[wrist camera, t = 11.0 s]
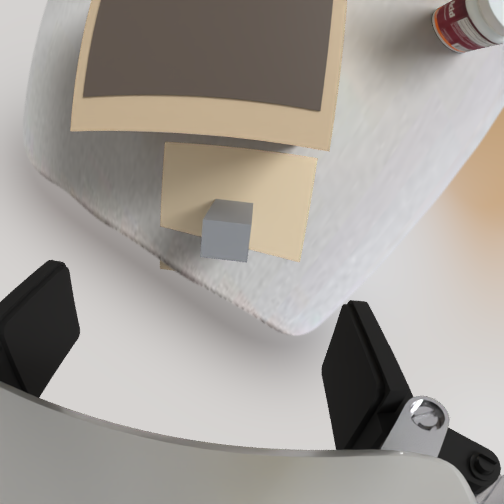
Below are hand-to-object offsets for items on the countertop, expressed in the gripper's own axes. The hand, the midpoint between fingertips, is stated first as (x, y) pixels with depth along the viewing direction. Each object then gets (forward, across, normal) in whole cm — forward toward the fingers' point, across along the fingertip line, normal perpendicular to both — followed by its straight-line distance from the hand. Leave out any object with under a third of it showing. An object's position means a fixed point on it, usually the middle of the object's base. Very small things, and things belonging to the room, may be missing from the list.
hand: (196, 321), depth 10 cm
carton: (+16, +2, -12) cm, 21 cm away
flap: (+17, 0, +1) cm, 17 cm away
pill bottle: (+17, -17, -19) cm, 31 cm away
